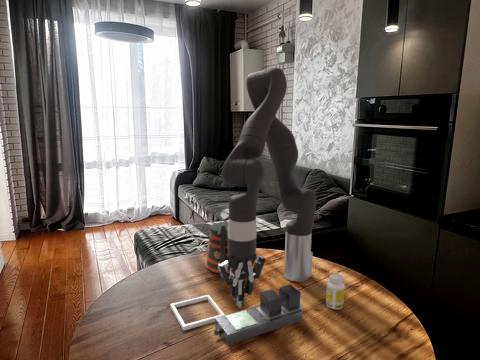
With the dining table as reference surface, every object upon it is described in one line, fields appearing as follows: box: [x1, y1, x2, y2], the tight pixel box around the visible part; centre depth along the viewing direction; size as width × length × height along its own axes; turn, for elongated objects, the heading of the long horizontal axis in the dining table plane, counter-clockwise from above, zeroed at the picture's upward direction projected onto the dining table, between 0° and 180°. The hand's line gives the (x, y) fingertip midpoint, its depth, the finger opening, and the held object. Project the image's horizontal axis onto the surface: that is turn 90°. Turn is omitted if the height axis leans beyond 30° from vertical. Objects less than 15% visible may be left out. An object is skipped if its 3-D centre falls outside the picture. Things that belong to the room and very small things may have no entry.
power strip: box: [213, 284, 304, 346], centre depth 95 cm, size 27×8×8 cm, turn 117°
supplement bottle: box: [325, 273, 346, 310], centre depth 105 cm, size 5×5×10 cm
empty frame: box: [169, 294, 226, 332], centre depth 101 cm, size 13×13×1 cm
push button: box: [232, 271, 249, 309], centre depth 91 cm, size 7×5×10 cm
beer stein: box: [206, 219, 231, 275], centre depth 128 cm, size 19×15×20 cm
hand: (241, 295), depth 92 cm, fingers closed on push button, 3 cm apart
